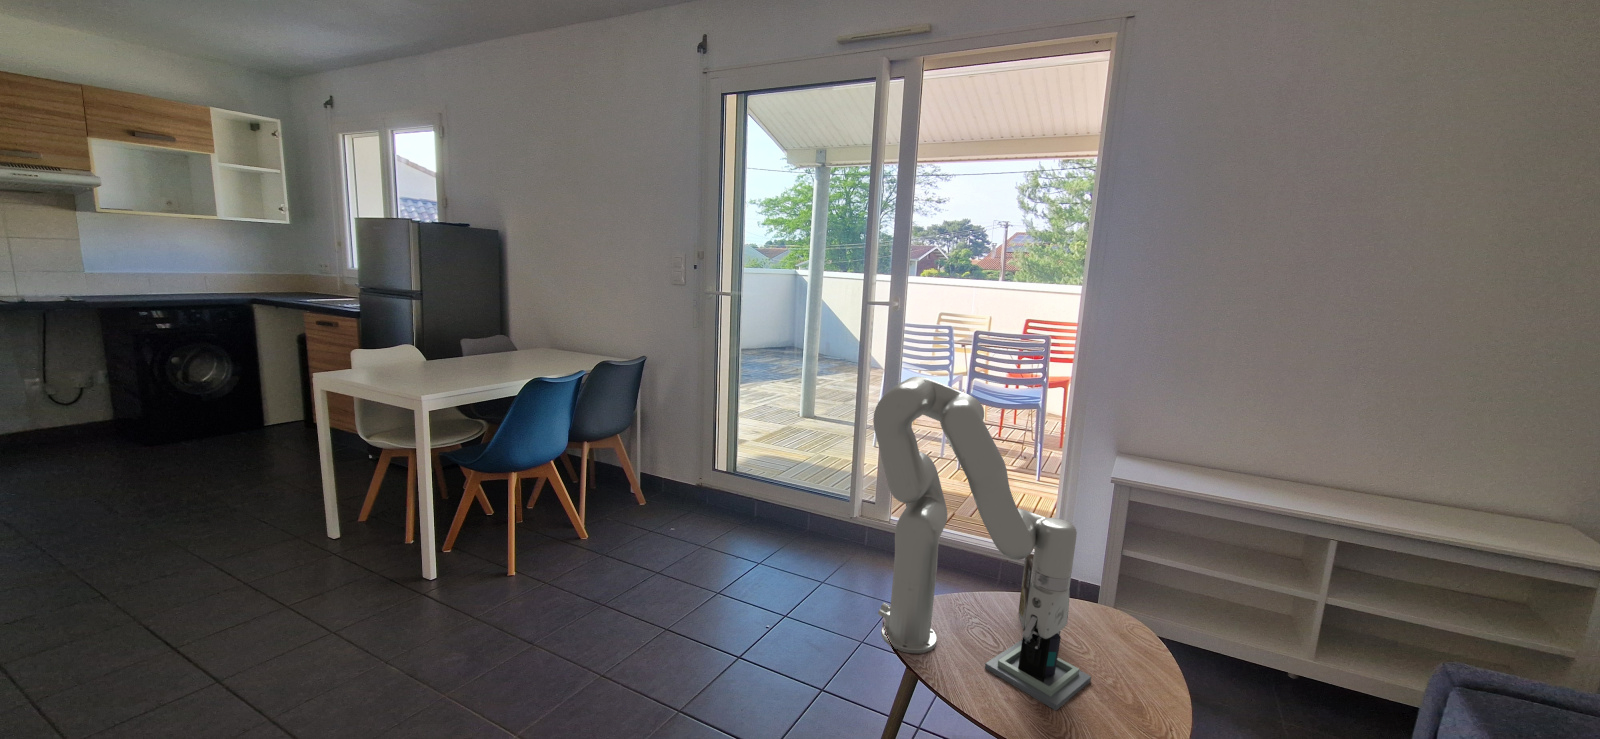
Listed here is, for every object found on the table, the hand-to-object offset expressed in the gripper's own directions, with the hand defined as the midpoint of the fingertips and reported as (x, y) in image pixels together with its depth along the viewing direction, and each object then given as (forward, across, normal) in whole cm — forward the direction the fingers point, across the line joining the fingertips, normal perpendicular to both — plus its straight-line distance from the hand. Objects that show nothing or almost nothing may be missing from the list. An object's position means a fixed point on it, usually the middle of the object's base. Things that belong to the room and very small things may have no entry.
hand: (1040, 656), depth 131 cm
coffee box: (+5, +18, +11) cm, 22 cm away
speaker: (+3, -1, 0) cm, 3 cm away
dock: (+4, 0, 0) cm, 4 cm away
